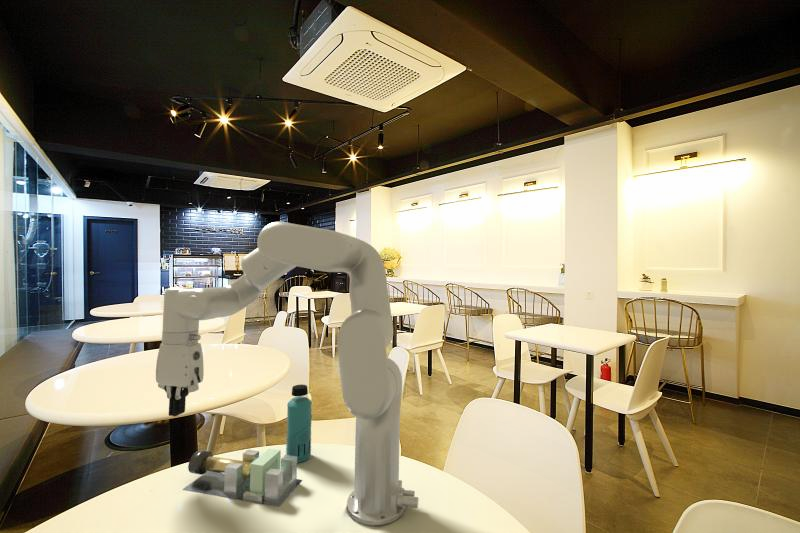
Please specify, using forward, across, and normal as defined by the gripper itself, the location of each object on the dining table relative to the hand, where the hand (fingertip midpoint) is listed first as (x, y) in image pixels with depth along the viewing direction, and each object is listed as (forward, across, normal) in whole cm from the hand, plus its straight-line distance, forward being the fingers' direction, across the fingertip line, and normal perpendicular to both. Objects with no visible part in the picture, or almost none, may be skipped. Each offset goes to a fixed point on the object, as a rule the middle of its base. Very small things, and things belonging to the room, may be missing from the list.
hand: (176, 413), depth 86 cm
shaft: (+13, -14, 0) cm, 19 cm away
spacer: (+14, -25, 0) cm, 28 cm away
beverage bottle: (+15, -25, -14) cm, 33 cm away
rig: (+15, -20, 0) cm, 25 cm away
